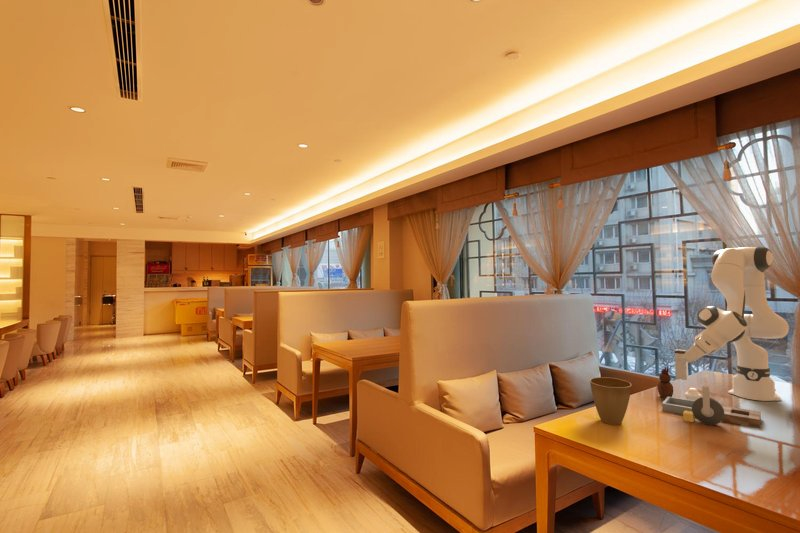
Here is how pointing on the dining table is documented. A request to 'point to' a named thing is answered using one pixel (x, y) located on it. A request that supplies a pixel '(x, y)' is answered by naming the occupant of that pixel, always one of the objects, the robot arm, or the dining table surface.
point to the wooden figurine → (665, 384)
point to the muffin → (692, 394)
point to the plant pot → (610, 398)
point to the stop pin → (682, 370)
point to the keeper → (741, 416)
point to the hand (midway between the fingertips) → (679, 363)
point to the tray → (677, 405)
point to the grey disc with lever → (705, 410)
